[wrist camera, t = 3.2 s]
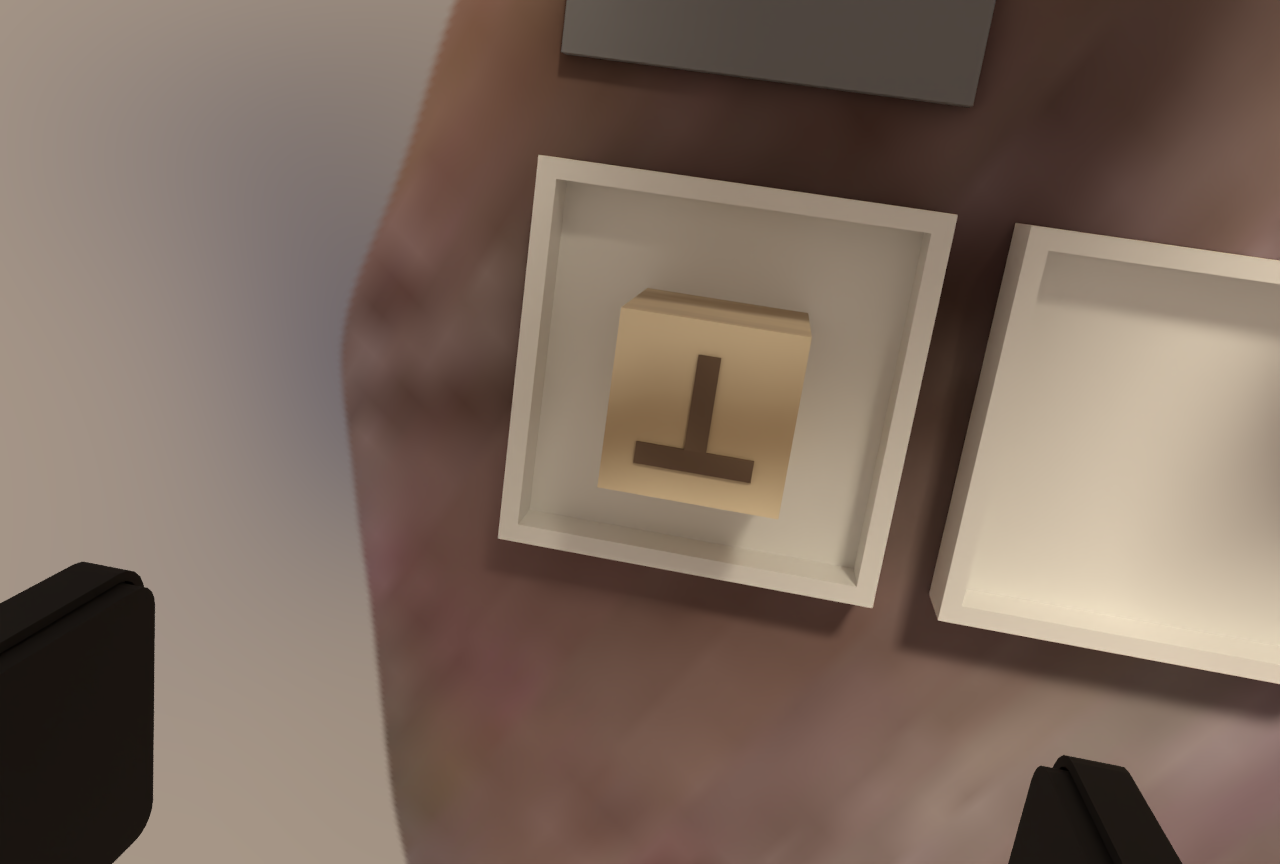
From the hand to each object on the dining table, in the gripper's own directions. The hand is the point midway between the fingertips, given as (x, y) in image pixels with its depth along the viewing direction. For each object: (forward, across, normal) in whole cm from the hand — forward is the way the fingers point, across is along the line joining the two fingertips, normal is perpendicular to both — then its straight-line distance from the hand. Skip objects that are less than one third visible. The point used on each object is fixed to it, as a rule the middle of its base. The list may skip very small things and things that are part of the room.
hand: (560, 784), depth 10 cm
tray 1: (+22, 0, 0) cm, 22 cm away
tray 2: (+22, -14, 0) cm, 26 cm away
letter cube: (+22, 0, 0) cm, 22 cm away
